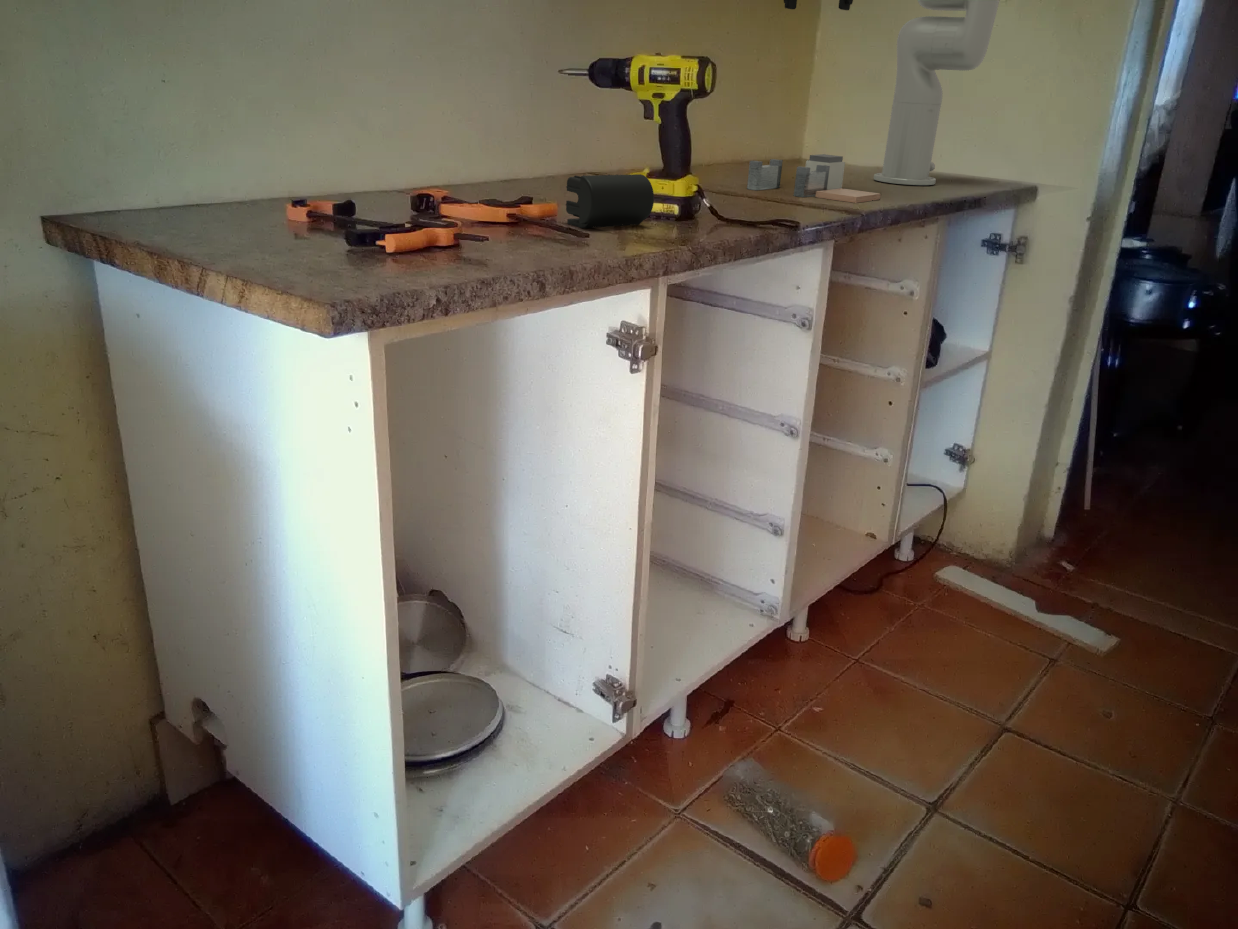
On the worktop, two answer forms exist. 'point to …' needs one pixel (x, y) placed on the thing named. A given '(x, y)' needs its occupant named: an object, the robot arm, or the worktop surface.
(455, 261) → the worktop surface
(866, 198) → the pad
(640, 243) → the worktop surface
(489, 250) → the worktop surface
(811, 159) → the white box with lid
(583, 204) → the end cap
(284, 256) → the worktop surface
